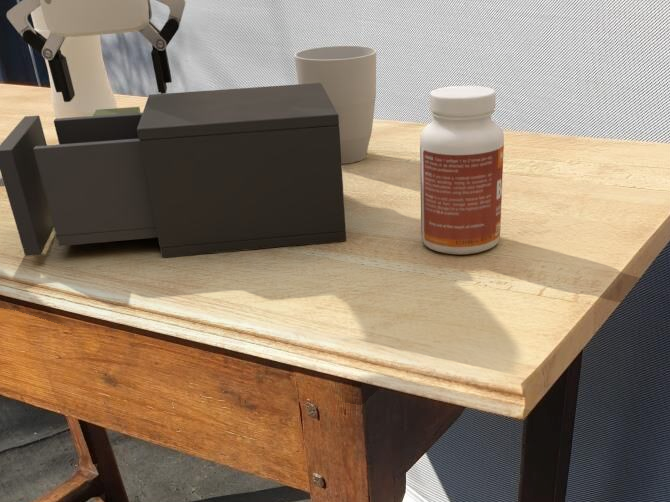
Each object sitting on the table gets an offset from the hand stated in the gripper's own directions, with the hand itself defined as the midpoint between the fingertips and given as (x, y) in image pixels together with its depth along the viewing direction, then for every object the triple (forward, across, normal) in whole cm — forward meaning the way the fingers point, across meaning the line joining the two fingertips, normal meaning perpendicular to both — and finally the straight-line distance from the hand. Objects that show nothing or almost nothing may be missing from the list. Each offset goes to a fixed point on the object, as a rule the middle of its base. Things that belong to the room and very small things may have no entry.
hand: (116, 95), depth 87 cm
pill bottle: (+7, -28, +35) cm, 46 cm away
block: (+6, +1, 0) cm, 6 cm away
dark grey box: (+6, -12, +26) cm, 30 cm away
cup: (+7, -22, +7) cm, 25 cm away
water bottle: (+6, +6, -12) cm, 15 cm away
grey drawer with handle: (+5, +1, +26) cm, 27 cm away
